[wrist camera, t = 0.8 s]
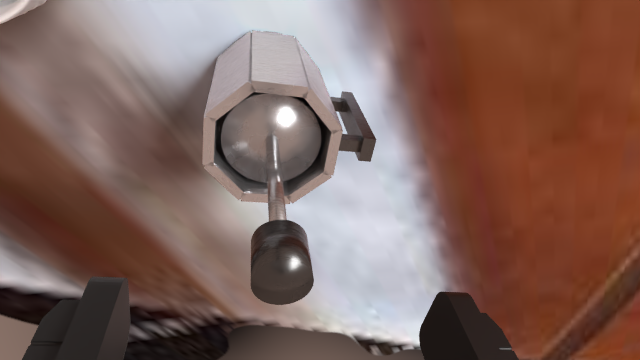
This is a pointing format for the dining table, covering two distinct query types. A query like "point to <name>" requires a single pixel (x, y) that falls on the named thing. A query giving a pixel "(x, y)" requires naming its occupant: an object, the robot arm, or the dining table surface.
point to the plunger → (274, 186)
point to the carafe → (282, 79)
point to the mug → (16, 8)
